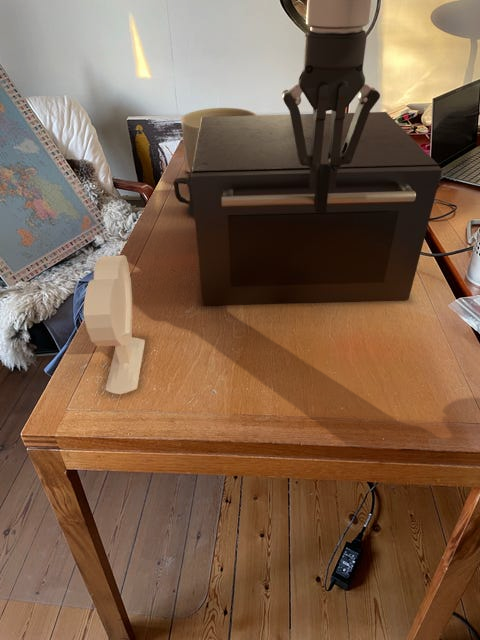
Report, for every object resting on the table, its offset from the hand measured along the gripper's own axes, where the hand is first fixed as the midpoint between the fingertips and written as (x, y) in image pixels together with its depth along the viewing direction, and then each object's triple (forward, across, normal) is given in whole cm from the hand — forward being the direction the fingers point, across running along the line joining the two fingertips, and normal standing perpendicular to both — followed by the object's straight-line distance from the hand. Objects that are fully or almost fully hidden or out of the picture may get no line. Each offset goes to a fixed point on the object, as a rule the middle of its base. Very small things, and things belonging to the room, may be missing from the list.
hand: (319, 208), depth 71 cm
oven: (+22, 0, -23) cm, 32 cm away
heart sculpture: (+23, +32, +10) cm, 40 cm away
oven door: (+22, 0, -4) cm, 23 cm away
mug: (+22, +23, -48) cm, 58 cm away
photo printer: (+22, +25, -80) cm, 87 cm away
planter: (+22, +17, -65) cm, 71 cm away
